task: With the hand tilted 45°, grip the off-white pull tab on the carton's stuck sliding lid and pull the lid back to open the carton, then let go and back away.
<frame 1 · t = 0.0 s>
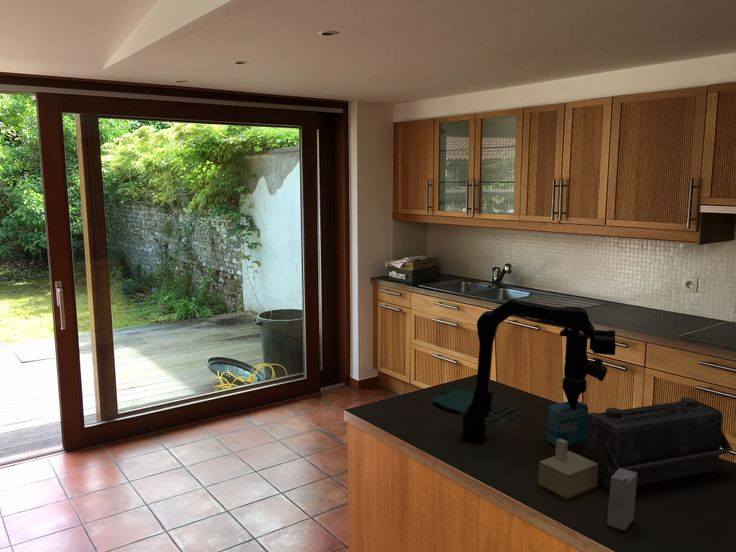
hand: (573, 404, 177), 15 cm above the counter, tool pointing down, fingers open, 9 cm apart
skincare box: (620, 524, 142), on the counter
cutlery set: (474, 410, 214), on the counter
lid: (569, 454, 158), point 9 cm above the counter, slide at 0.0 cm
data package: (566, 442, 187), on the counter
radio: (654, 477, 165), on the counter
carton: (567, 486, 159), on the counter
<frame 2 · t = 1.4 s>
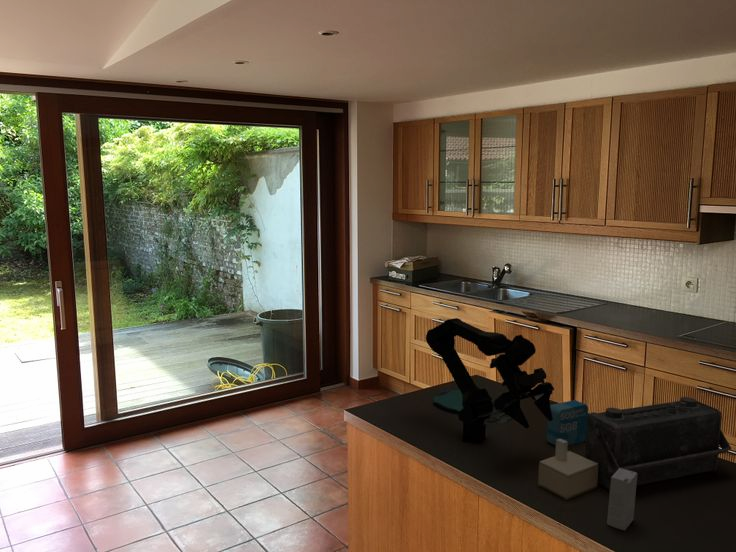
hand: (539, 424, 166), 14 cm above the counter, tool tilted 45°, fingers open, 9 cm apart
nothing on the counter moved.
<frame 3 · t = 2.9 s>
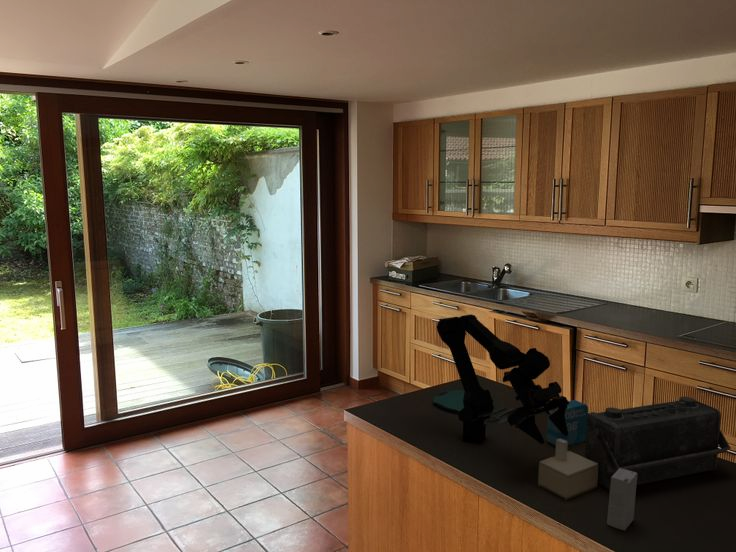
hand: (555, 439, 161), 11 cm above the counter, tool tilted 45°, fingers open, 9 cm apart
nothing on the counter moved.
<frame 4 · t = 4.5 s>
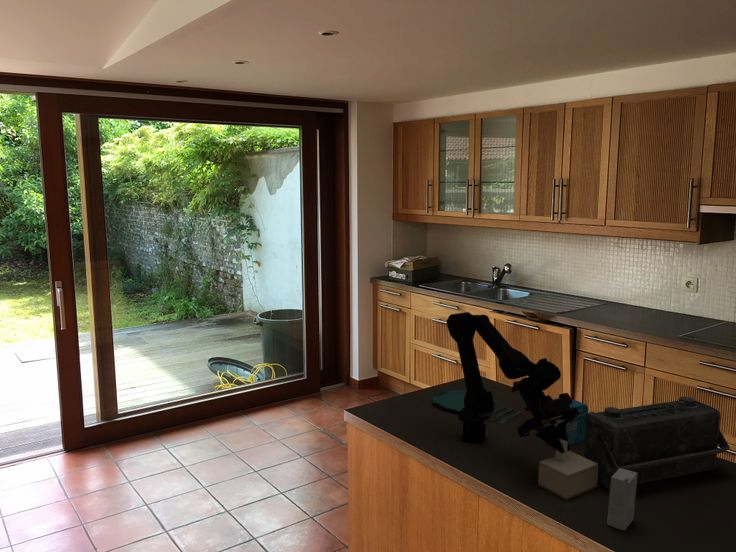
hand: (565, 451, 159), 9 cm above the counter, tool tilted 45°, fingers closed on lid, 2 cm apart
lid: (569, 454, 158), point 9 cm above the counter, slide at 0.0 cm, touching gripper
everything else where it was.
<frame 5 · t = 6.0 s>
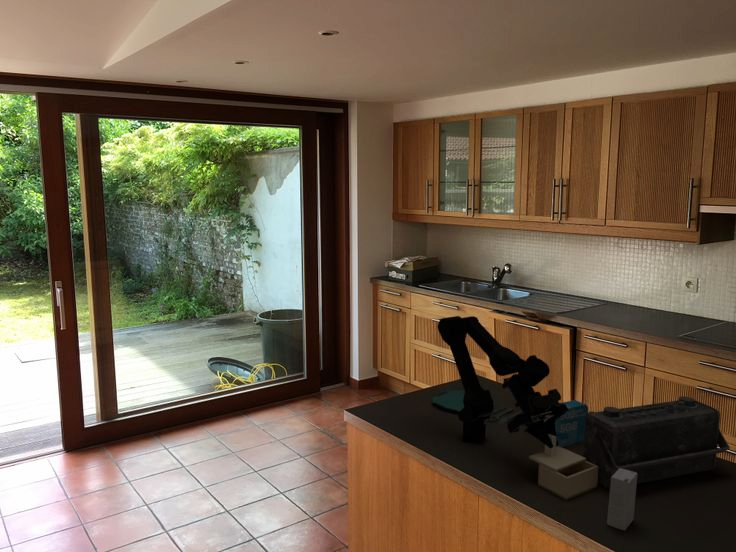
hand: (554, 446, 162), 9 cm above the counter, tool tilted 45°, fingers closed on lid, 2 cm apart
lid: (557, 449, 161), point 9 cm above the counter, slide at 3.7 cm, touching gripper
everything else where it was.
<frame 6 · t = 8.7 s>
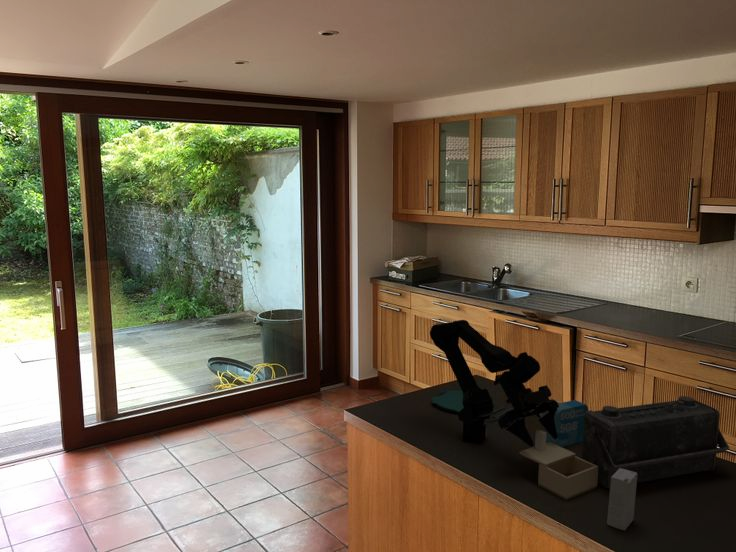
hand: (544, 442, 165), 9 cm above the counter, tool tilted 45°, fingers open, 9 cm apart
lid: (547, 444, 164), point 9 cm above the counter, slide at 7.0 cm
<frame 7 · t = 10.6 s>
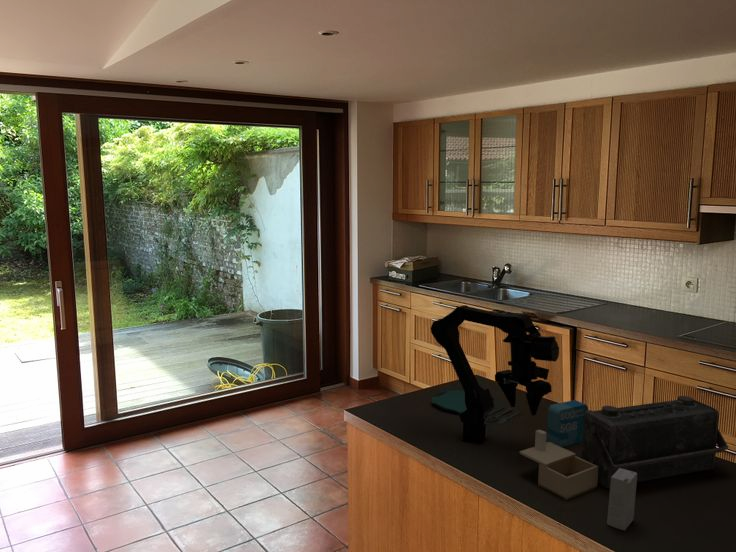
hand: (523, 410, 177), 13 cm above the counter, tool pointing down, fingers open, 9 cm apart
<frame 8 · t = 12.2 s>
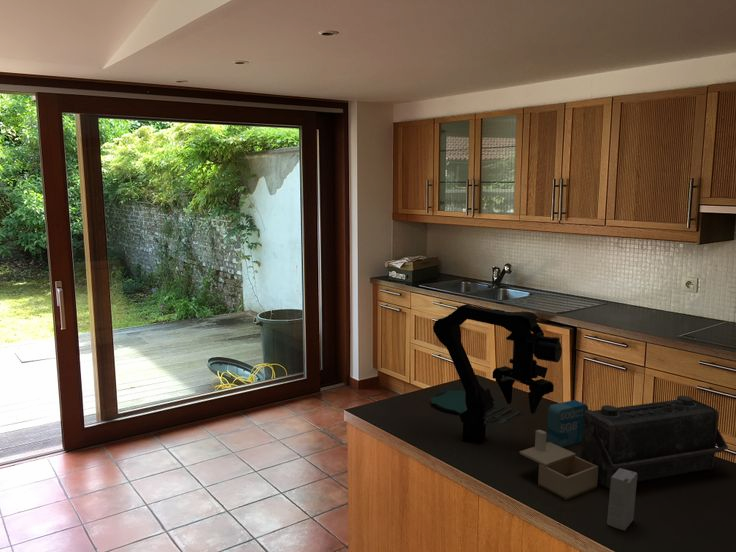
hand: (520, 408, 178), 13 cm above the counter, tool pointing down, fingers open, 9 cm apart
at the end: lid slide at 7.0 cm; the gripper is holding nothing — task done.
